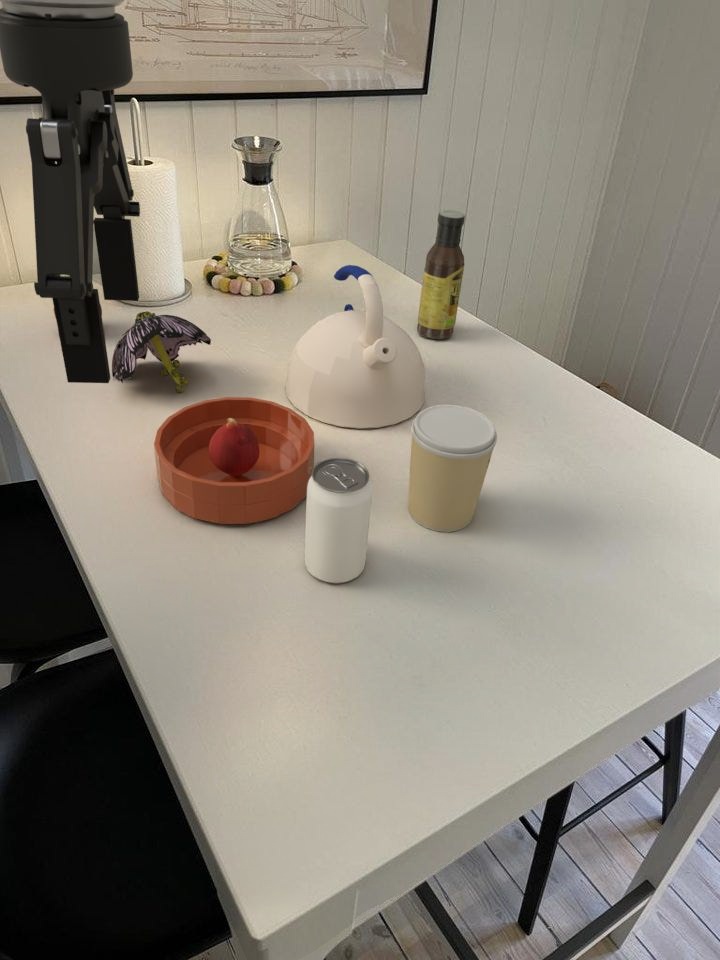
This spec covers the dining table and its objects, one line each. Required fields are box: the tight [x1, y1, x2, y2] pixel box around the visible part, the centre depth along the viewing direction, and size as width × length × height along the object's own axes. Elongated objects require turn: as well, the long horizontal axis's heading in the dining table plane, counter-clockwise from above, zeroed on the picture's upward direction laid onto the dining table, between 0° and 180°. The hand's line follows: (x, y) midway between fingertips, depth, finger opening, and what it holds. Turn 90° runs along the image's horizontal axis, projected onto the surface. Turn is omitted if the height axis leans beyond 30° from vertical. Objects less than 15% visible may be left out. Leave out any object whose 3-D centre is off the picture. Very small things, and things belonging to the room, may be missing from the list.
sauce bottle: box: [416, 209, 466, 340], centre depth 121 cm, size 6×6×20 cm
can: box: [304, 457, 373, 585], centre depth 77 cm, size 6×6×12 cm
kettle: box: [284, 264, 426, 430], centre depth 104 cm, size 20×21×18 cm
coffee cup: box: [407, 404, 498, 533], centre depth 85 cm, size 9×9×12 cm
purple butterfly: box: [111, 311, 212, 394], centre depth 105 cm, size 14×12×15 cm
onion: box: [209, 418, 259, 477], centre depth 88 cm, size 6×6×8 cm
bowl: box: [153, 396, 316, 525], centre depth 89 cm, size 18×18×6 cm
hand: (107, 336), depth 57 cm, fingers open, 13 cm apart
